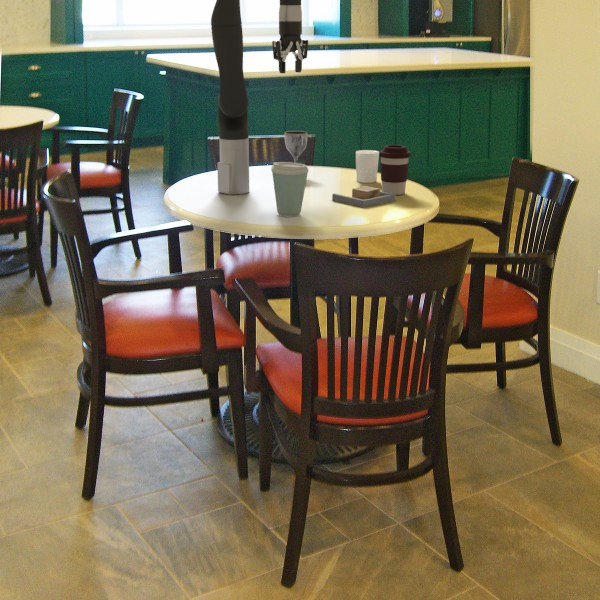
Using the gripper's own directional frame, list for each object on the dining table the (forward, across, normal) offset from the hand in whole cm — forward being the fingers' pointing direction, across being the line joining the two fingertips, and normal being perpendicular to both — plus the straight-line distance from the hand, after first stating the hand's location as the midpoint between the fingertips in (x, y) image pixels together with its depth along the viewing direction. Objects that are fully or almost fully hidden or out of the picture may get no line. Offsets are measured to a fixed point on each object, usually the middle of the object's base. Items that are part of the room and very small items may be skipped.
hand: (290, 72), depth 295 cm
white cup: (+36, +17, -20) cm, 44 cm away
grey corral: (+36, -6, -41) cm, 55 cm away
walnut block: (+36, -6, -42) cm, 56 cm away
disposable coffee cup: (+36, -36, -41) cm, 65 cm away
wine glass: (+36, +6, +4) cm, 37 cm away
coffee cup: (+36, +9, -40) cm, 54 cm away
